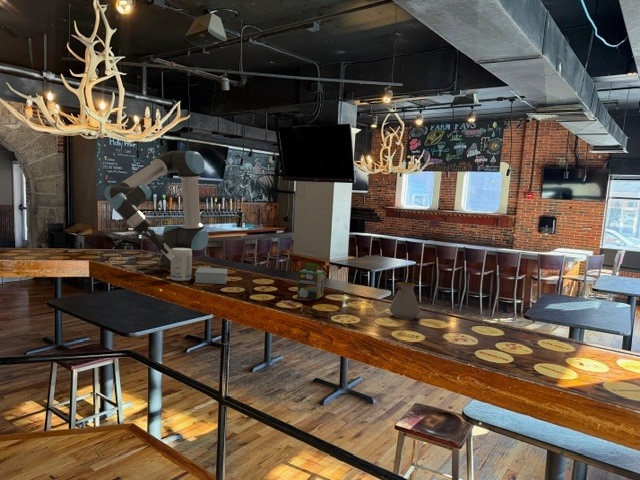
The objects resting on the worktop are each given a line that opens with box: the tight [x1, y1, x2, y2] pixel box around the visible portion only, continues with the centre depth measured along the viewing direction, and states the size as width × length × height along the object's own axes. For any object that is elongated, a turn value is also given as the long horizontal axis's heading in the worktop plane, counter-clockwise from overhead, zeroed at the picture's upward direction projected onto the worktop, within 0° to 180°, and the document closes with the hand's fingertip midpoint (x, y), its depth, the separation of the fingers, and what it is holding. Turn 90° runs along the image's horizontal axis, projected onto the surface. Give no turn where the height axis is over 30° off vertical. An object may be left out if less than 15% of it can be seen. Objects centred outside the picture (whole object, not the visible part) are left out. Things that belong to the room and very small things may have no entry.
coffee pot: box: [388, 281, 421, 321], centre depth 161 cm, size 21×12×15 cm, turn 153°
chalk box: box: [296, 262, 325, 301], centre depth 190 cm, size 9×9×15 cm
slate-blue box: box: [194, 267, 228, 285], centre depth 212 cm, size 15×14×5 cm
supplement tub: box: [170, 248, 193, 282], centre depth 209 cm, size 10×10×15 cm
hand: (172, 256), depth 207 cm, fingers open, 13 cm apart
